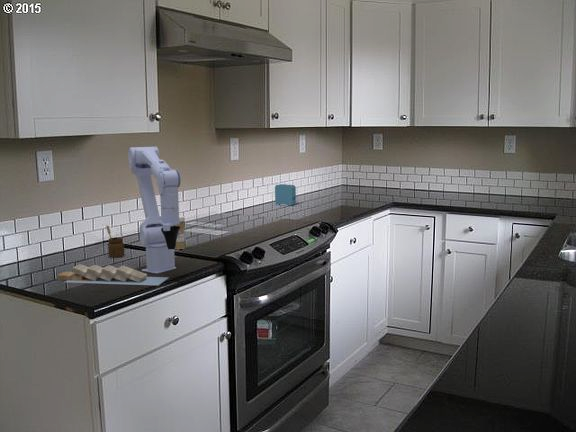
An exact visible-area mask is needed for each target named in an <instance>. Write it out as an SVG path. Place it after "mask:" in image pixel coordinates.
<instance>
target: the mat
mask: <svg viewBox="0 0 576 432" xmlns="http://www.w3.org/2000/svg"><path fill="white" fill-rule="evenodd" d="M169 278H170V277H167V276H166V277H165V276H164V277H163V276H146V279H145V280H143V281H142V282H137V281H134V280H131V279H129V280H128V281H126V282H123V281H121V280H118V279H114V280H112V281H111V282H110V281H107V280H105V279H102V278H100V279H98V280H97V281H94V280H91V279H89V278H86V279H84V280H82V281H78V280H64V283H71V284H72V283H73V284H102V285H106V284H107V285H127V286H128V285H130V286H131V285H135V286H137V285H138V286H160V285H161V284H163V283H164V282H165V281H167V280H168V279H169Z"/></svg>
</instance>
